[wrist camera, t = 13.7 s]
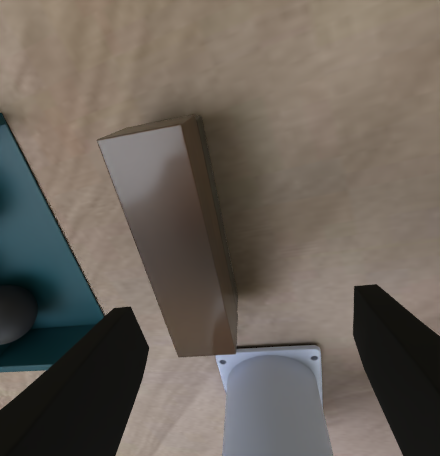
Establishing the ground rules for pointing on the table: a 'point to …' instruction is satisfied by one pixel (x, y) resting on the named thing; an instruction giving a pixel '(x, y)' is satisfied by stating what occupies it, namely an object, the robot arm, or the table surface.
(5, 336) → the charcoal ball
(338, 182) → the table surface
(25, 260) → the pusher tool
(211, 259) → the brown bar
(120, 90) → the table surface
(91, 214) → the table surface
